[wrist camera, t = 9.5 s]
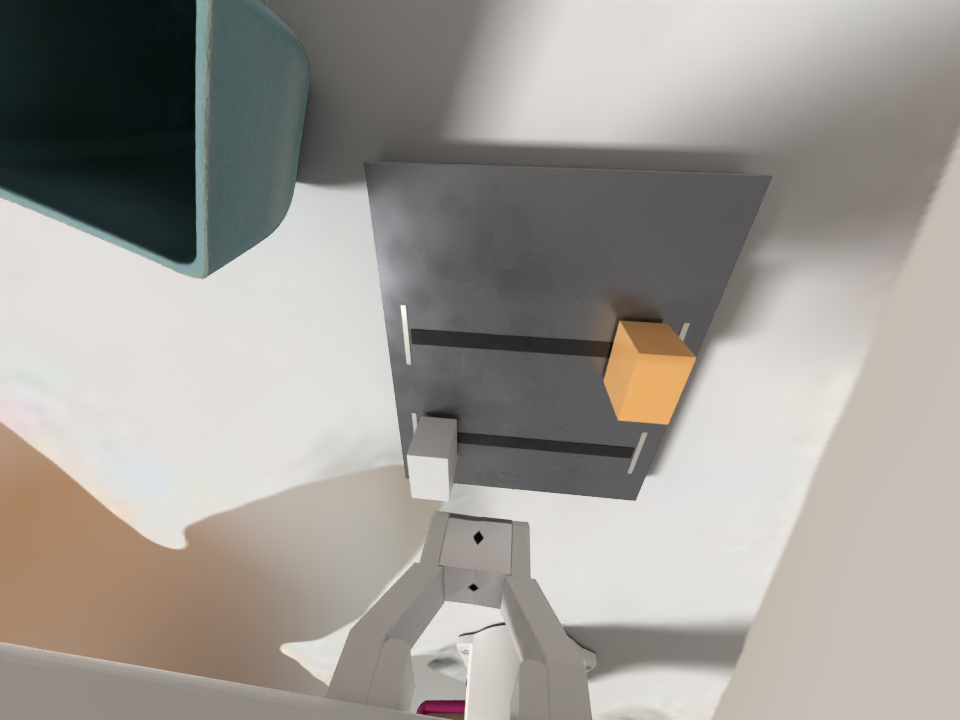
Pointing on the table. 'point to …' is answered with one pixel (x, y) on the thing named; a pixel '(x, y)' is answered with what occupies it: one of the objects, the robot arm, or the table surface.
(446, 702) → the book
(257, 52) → the flower pot
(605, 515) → the table surface
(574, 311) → the console
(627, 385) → the fader
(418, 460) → the block
